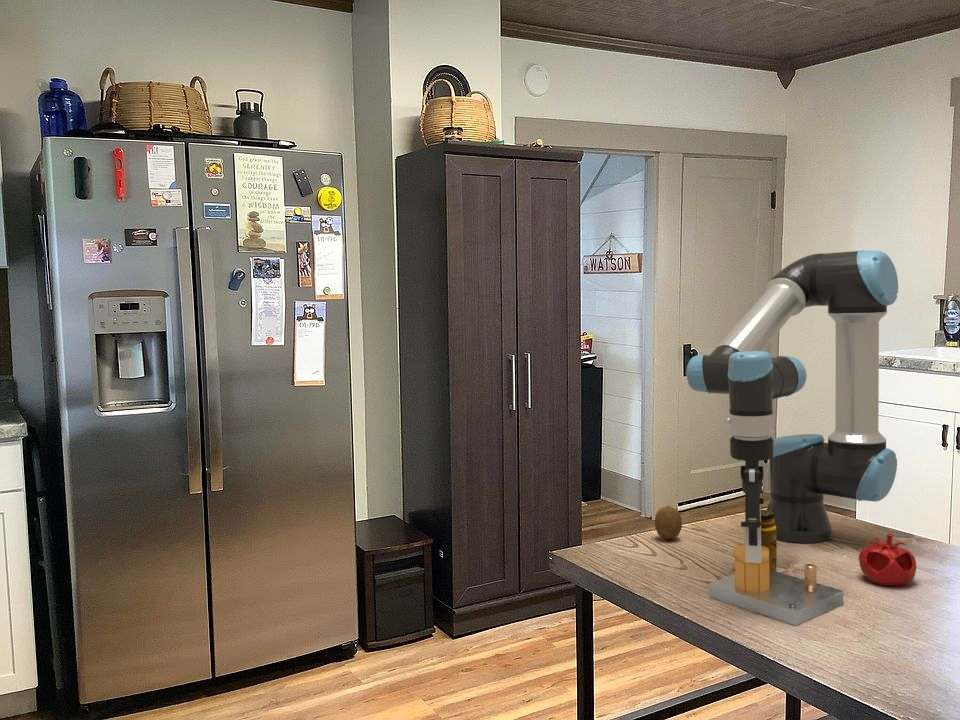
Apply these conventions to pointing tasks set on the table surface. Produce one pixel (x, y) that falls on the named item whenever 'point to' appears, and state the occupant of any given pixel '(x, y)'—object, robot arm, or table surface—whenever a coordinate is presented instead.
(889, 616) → the table surface
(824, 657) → the table surface
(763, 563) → the wire nut
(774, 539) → the condiment
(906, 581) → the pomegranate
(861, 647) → the table surface
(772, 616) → the plate
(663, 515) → the fruit
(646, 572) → the table surface
